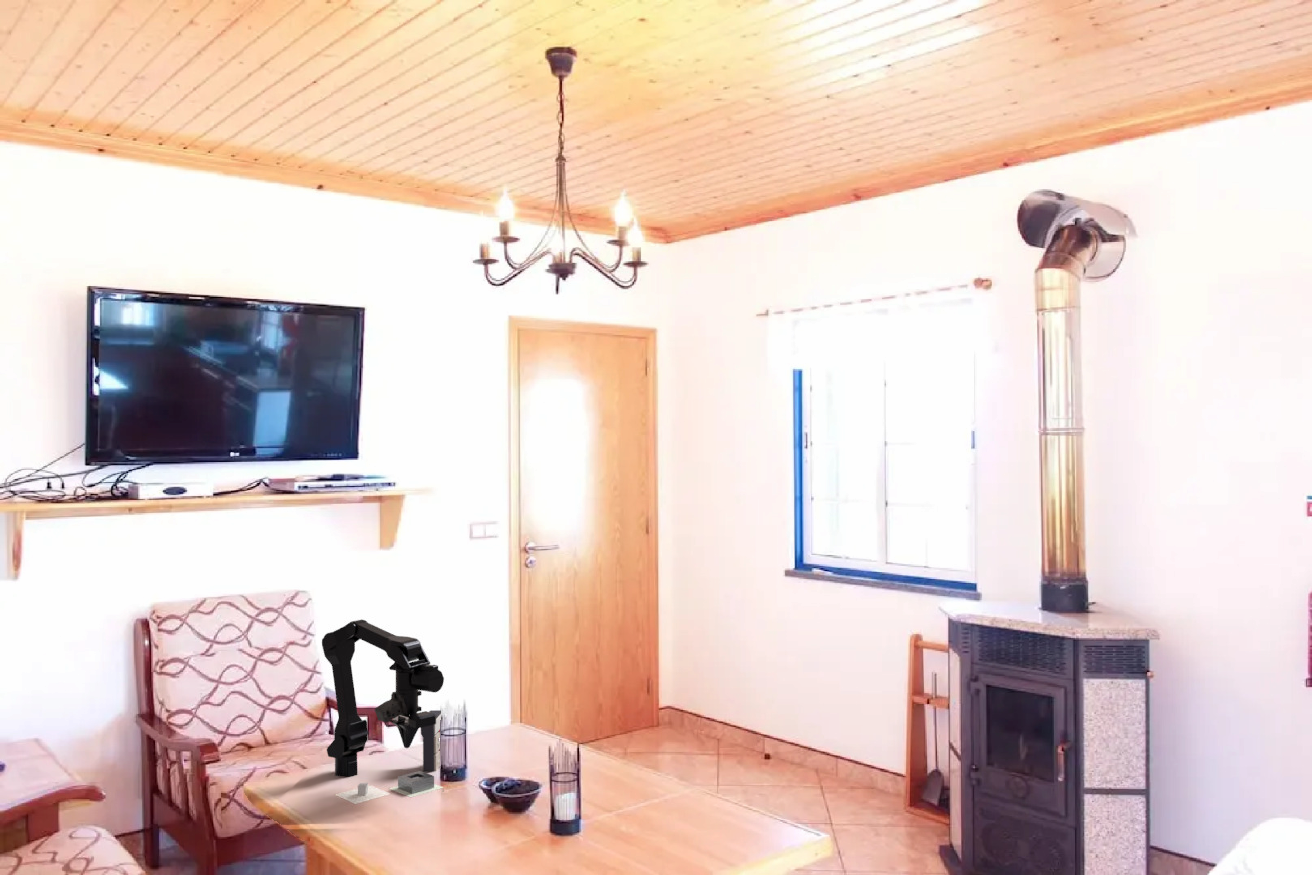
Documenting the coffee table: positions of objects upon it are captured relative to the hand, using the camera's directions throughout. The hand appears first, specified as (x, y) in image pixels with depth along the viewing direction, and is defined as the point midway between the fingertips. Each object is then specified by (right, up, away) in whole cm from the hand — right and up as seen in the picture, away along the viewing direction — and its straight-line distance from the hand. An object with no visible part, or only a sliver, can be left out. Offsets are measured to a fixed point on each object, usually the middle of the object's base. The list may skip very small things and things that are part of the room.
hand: (406, 747), depth 265 cm
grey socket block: (+3, -10, -2) cm, 10 cm away
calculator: (+3, -11, +17) cm, 21 cm away
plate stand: (-10, -11, -6) cm, 16 cm away
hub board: (+3, -11, -2) cm, 11 cm away
